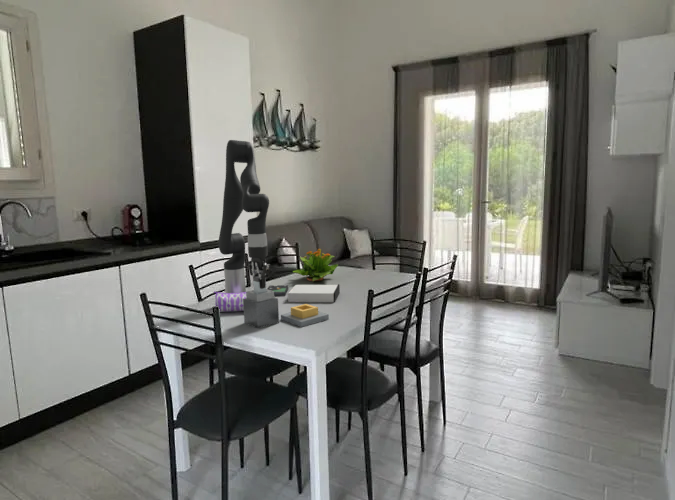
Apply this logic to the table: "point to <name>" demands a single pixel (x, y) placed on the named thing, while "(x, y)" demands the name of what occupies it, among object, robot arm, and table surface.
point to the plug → (258, 285)
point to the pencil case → (230, 301)
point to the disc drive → (314, 293)
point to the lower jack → (304, 315)
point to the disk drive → (279, 290)
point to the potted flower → (316, 266)
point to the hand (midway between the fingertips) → (259, 287)
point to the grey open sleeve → (260, 309)
